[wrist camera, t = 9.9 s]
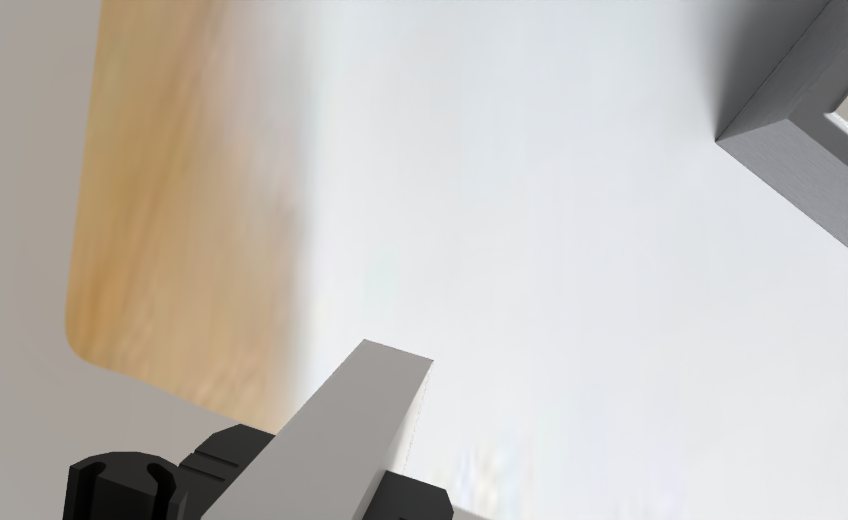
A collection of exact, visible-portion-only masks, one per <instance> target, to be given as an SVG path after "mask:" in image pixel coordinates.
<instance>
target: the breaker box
mask: <svg viewBox="0 0 848 520" xmlns="http://www.w3.org/2000/svg"><path fill="white" fill-rule="evenodd" d="M715 143H716V144H718V145H719V146H720V147H721V148H723V149H724V150H725V151H726V152H728V153H729V154H730V155H731V156H733V157H734V158H735V159H737V160H738V161H739V162H740V163H742V164H743V165H744V166H745V167H747V168H748V169H749V170H750V171H752V172H753V173H754V174H755V175H757V176H758V177H759V178H761V179H762V180H763V181H764V182H766V183H767V184H768V185H769V186H771V187H772V188H773V189H774V190H776V191H777V192H778V193H780V194H781V195H782V196H783V197H785V198H786V199H787V200H788V201H790V202H791V203H792V204H793V205H795V206H796V207H797V208H798V209H800V210H801V211H802V212H804V213H805V214H806V215H807V216H809V217H810V218H811V219H812V220H814V221H815V222H816V223H817V224H819V225H820V226H821V227H823V228H824V229H825V230H826V231H828V232H829V233H830V234H831V235H833V236H834V237H835V238H836V239H838V240H839V241H840V242H841V243H843V244H844V245H845V246H847V247H848V0H830V2H829V3H828V4H827V5H826V7H825V8H824V9H823V10H822V12H821V13H820V14H819V15H818V16H817V18H816V19H815V20H814V21H813V23H812V24H811V25H810V26H809V28H808V29H807V30H806V31H805V32H804V34H803V35H802V36H801V37H800V39H799V40H798V41H797V42H796V44H795V45H794V46H793V47H792V48H791V50H790V51H789V52H788V53H787V55H786V56H785V57H784V58H783V60H782V61H781V62H780V63H779V64H778V66H777V67H776V68H775V69H774V71H773V72H772V73H771V74H770V75H769V77H768V78H767V79H766V80H765V82H764V83H763V84H762V85H761V87H760V88H759V89H758V90H757V91H756V93H755V94H754V95H753V96H752V98H751V99H750V100H749V101H748V103H747V104H746V105H745V106H744V107H743V109H742V110H741V111H740V112H739V114H738V115H737V116H736V117H735V119H734V120H733V121H732V122H731V123H730V125H729V126H728V127H727V128H726V130H725V131H724V132H723V133H722V134H721V136H720V137H719V138H718V139H717V141H716V142H715Z"/></svg>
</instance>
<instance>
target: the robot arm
mask: <svg viewBox="0 0 848 520" xmlns="http://www.w3.org/2000/svg"><path fill="white" fill-rule="evenodd" d="M433 361H434V360H431V359H428V358H425V357H421V356H418V355H415V354H412V353H408V352H405V351H402V350H399V349H395V348H392V347H389V346H385V345H382V344H379V343H376V342H372V341H369V340H366V339H364V340H363V341H362V342H361V343H360V344H359V345H358V346H357V347H356V349H355V350H354V351H353V352H352V353H351V354H350V355H349V356H348V357H347V358H346V359H345V361H344V362H343V363H342V364H341V365H340V366H339V367H338V368H337V369H336V370H335V372H334V373H333V374H332V375H331V376H330V377H329V378H328V379H327V380H326V381H325V382H324V384H323V385H322V386H321V387H320V388H319V389H318V390H317V391H316V392H315V393H314V394H313V396H312V397H311V398H310V399H309V400H308V401H307V402H306V403H305V404H304V405H303V407H302V408H301V409H300V410H299V411H298V412H297V413H296V414H295V415H294V416H293V417H292V419H291V420H290V421H289V422H288V423H287V424H286V425H285V426H284V427H283V428H282V429H281V431H280V432H279V433H278V434H277V435H273V434H270V433H267V432H264V431H261V430H258V429H255V428H252V427H249V426H246V425H243V424H238V425H235V426H233V427H230V428H227V429H225V430H222V431H219V432H217V433H214V434H212V435H211V436H210V437H209V438H208V439H207V440H206V441H204V442H203V443H202V444H201V445H200V446H199V447H198V448H196V449H195V452H194V453H191V454H190V455H189V456H187V457H186V458H185V459H184V460H183V461H182V462H181V463H180V464H179V466H178V467H177V466H176V465H175V464H173V463H171V462H169V461H167V460H165V459H163V458H161V457H159V456H155V455H150V454H145V453H141V452H110V453H105V454H100V455H96V456H91V457H88V458H86V459H84V460H82V461H80V462H77V463H76V464H73V465H71V466H70V469H69V475H68V483H67V490H66V498H65V505H64V512H63V520H452V518H453V514H454V511H453V508H452V505H451V503H450V500H449V497H448V494H447V491H446V490H445V489H442V488H439V487H436V486H433V485H430V484H427V483H424V482H421V481H418V480H415V479H412V478H409V477H406V476H403V473H404V470H405V466H406V462H407V458H408V455H409V451H410V447H411V443H412V440H413V436H414V432H415V428H416V425H417V421H418V417H419V413H420V410H421V406H422V402H423V398H424V395H425V391H426V387H427V383H428V380H429V376H430V372H431V368H432V365H433Z"/></svg>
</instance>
